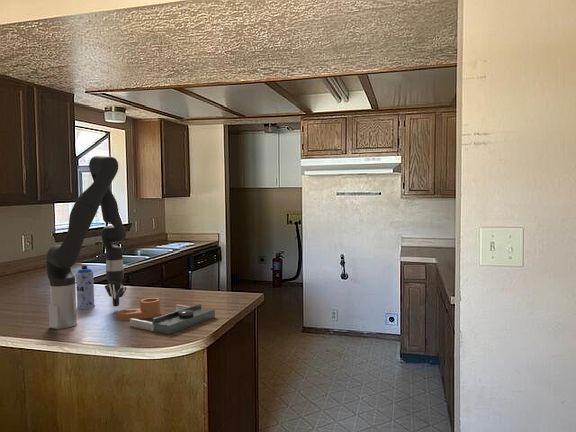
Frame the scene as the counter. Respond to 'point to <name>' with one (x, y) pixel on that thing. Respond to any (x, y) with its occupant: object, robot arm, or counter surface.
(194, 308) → the deck mount
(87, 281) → the aerosol can
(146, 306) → the bracket
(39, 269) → the counter surface
